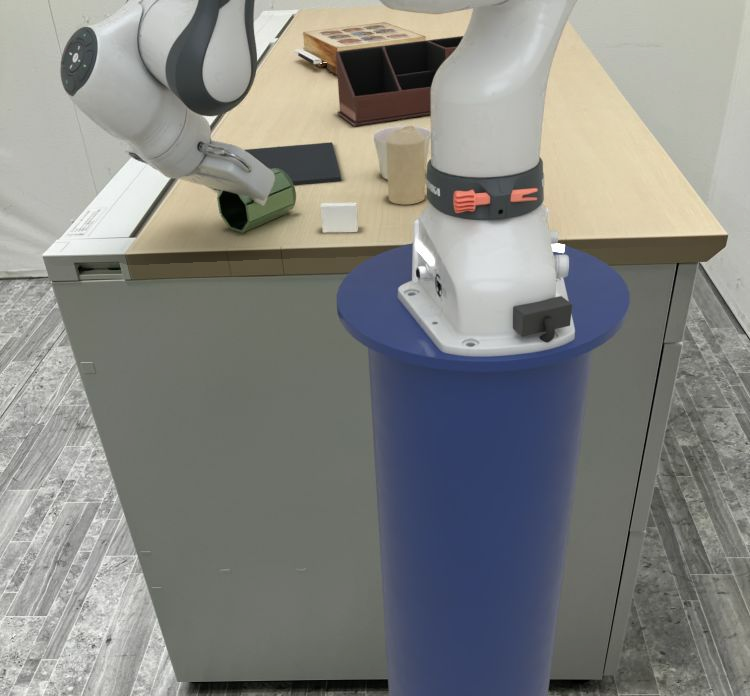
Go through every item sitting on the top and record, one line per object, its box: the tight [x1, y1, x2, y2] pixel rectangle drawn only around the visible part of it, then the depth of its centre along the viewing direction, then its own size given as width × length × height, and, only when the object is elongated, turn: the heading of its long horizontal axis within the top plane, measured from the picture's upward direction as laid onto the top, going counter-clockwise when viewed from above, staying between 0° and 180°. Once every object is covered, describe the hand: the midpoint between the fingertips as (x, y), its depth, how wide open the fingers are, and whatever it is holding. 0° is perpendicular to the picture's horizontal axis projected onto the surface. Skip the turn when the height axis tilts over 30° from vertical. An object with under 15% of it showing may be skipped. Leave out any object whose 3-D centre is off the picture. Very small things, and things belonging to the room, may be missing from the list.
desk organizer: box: [336, 35, 464, 127], centre depth 160 cm, size 10×29×11 cm, turn 110°
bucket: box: [216, 168, 297, 234], centre depth 117 cm, size 10×6×6 cm, turn 141°
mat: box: [244, 141, 342, 186], centre depth 139 cm, size 20×16×1 cm
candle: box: [386, 125, 426, 205], centre depth 121 cm, size 6×6×10 cm
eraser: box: [319, 202, 359, 233], centre depth 114 cm, size 1×5×4 cm, turn 86°
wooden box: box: [293, 21, 427, 76], centre depth 199 cm, size 25×6×28 cm
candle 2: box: [372, 125, 431, 181], centre depth 130 cm, size 9×9×6 cm
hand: (243, 195), depth 115 cm, fingers closed on bucket, 6 cm apart
